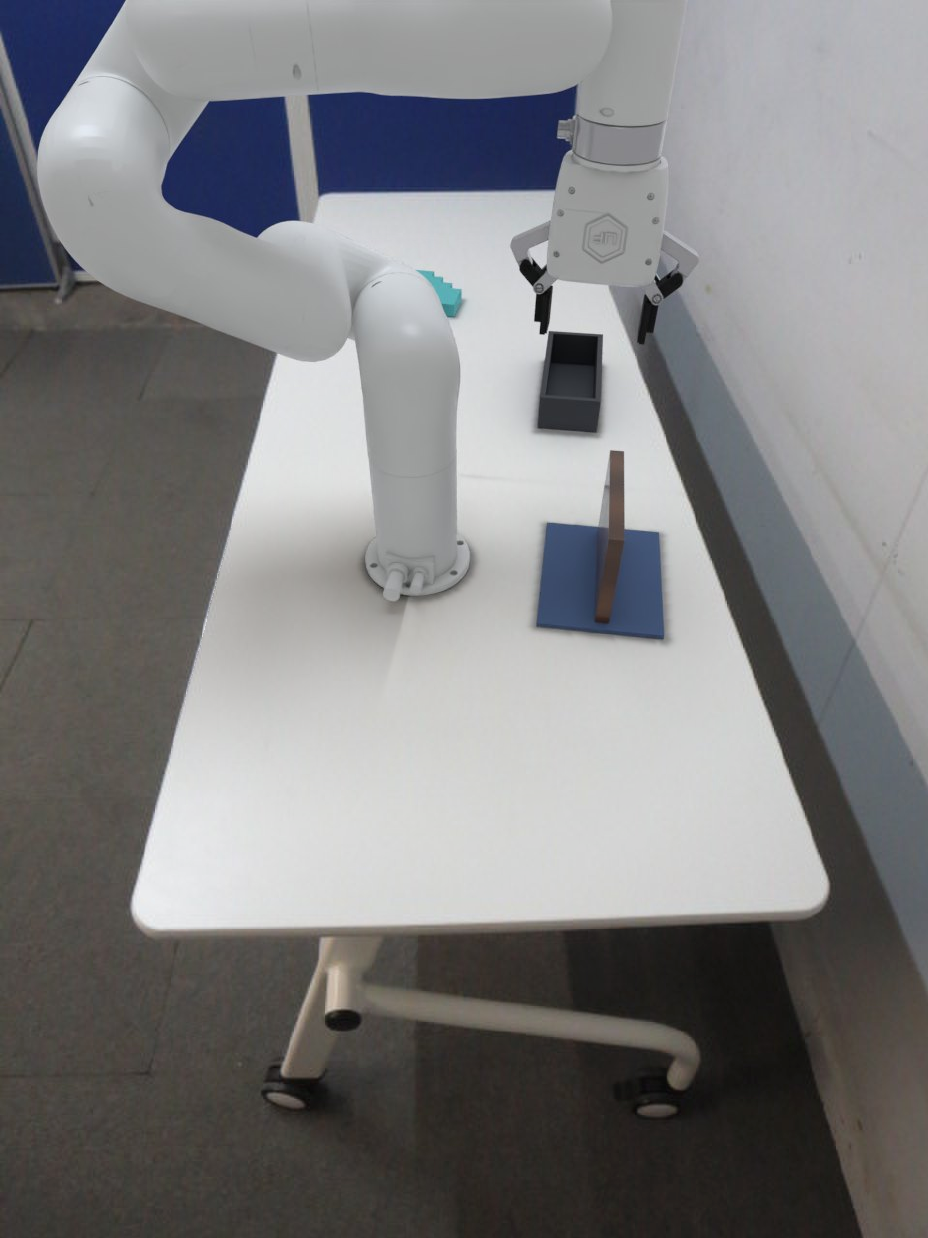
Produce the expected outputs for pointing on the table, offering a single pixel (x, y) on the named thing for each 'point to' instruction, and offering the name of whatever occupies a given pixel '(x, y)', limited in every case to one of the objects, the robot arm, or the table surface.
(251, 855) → the table surface
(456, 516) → the robot arm
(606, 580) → the board
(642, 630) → the mat
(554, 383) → the bin
